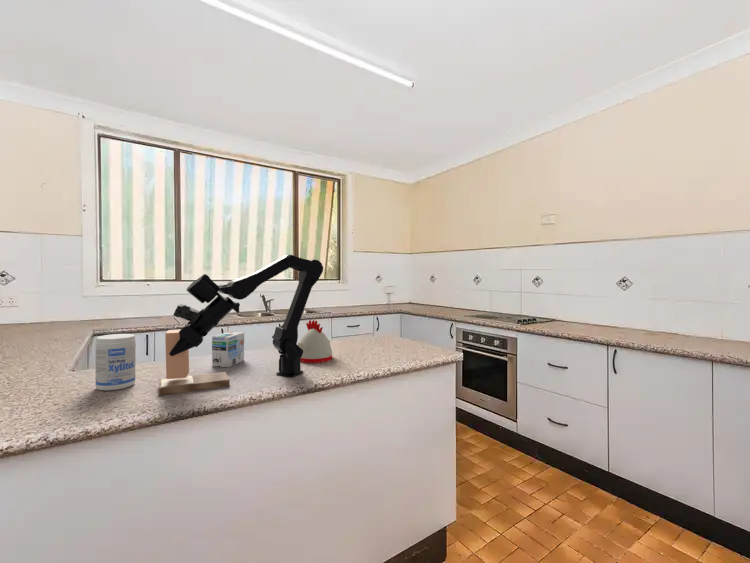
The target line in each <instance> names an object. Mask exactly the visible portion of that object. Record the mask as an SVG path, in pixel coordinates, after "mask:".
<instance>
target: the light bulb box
mask: <svg viewBox="0 0 750 563" xmlns="http://www.w3.org/2000/svg"><path fill="white" fill-rule="evenodd" d="M244 361H245V332H238V331H237V332H236V331H227V332H224V333H220V334H216V335H213V336H211V366H212V367H218V366H220V368H231V367H233V366H235V365H236V364H237V365H238V364H240V363H242V362H244ZM239 362H240V363H239Z"/></svg>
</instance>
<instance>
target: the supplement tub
mask: <svg viewBox="0 0 750 563" xmlns="http://www.w3.org/2000/svg"><path fill="white" fill-rule="evenodd" d="M136 343H137V342H136V335H135V334H132V333H114V334H105V335H100V336H97V337H96V341H95V388H96V389H97V390H100V391H119V390H123V389H127V388H129V387H131V386H133V385H134V384H135V383H136V365H137V364H136V361H137V360H136V359H137V358H136V357H137V356H136V354H137V352H136V350H137V348H136V347H137V346H136Z"/></svg>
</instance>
